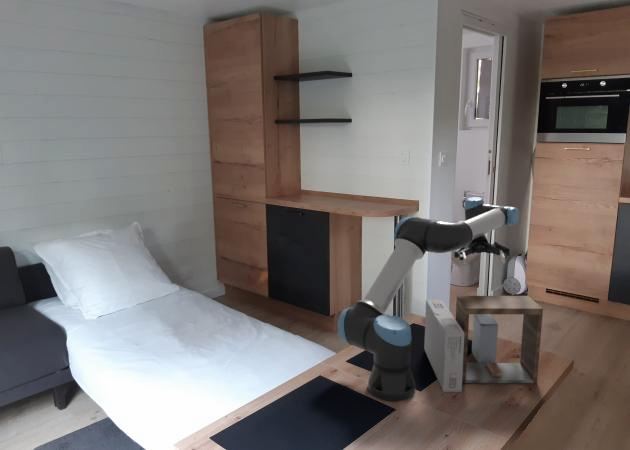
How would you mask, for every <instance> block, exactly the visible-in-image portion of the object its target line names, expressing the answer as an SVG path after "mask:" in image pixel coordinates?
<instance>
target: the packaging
mask: <svg viewBox="0 0 630 450" xmlns="http://www.w3.org/2000/svg"><path fill="white" fill-rule="evenodd" d="M424 315H425V322H424V323H425V325H424V348H423V349H424V352H425V354H426V357H427V358H428V361H429V363H430V366H431V368H432V370H433V372H434V374H435V377H436V378H437V381H438V384H439V385H440V388H441V390H442V392H446V393H447V392H450V393H451V392H462V391H463V389H462V387H463V383H462V372H463V352H464V331H463V330H462V328H461V327H460V325H459V324H458V322H457V321H456V317H454V315H453V314H452V312H451V311H450V309H449V308H448V306H447V305H446V303H445V302H444V301H443V300H442V299H426V300H425V314H424Z"/></svg>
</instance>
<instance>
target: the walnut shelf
mask: <svg viewBox="0 0 630 450" xmlns="http://www.w3.org/2000/svg"><path fill="white" fill-rule="evenodd" d="M455 306H456V308H455V320H456V321H457V322H458V324H459V325H460V327H461V328H462V330H463V331H464V352H463V372H462V384H464V383H466V384H468V383H470V384H471V383H476V384H477V383H478V384H479V383H481V384H482V383H483V384H489V383H490V384H495V383H496V384H538V374H539V373H538V372H539V362H540V361H539V360H540V348H541V338H542V337H541V336H542V327H543V326H542V323H543V312H544V311H543V310H544V308H543V307H542V306H541V305H539V303H537V302H536V301H535V300H534V299H533V298H531V296H530V295H456V305H455ZM470 315H523V319H522V331H521V347H520V358H519V362H517V363H516V362H496V363H478V362H468V361H467V360H468V347H469V346H468V344H469V328H470V327H469V324H470V323H469V322H470Z"/></svg>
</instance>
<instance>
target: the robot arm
mask: <svg viewBox="0 0 630 450" xmlns="http://www.w3.org/2000/svg"><path fill="white" fill-rule="evenodd" d="M464 219H465V220H456V221H442V220H436V219H430V218H429V219H428V218H422V217H418V216H406V217H403V218H402V219H400V220H399V221H398V222H397V225H396V226H395V228H394V233H393V239H394V247H395V248H394V249H393V251H392V253H391V254H390V256H389V258H388V259H387V261H386V263H385V264H384V266H383V267H382V269H381V271H380V272H379V274H378V275H377V276H376V279H375V280H374V282H373V283H372V285H371V286H370V288H369V290H368V292H367V293H366V295H365V296H364V298H363V299H361V300H357V301H356V302H355V304H354V306H353V307H347V308H345V309H343V310H342V312H341V313H340V315H339V317H338V320H337V333H338V336H339V337H340V339H341V340H342V341H344V342H346V343H348V344H349V346H353V347H357V348H359V349H361V350H363V351H365V352H368V353H371V354H372V355H373V366H372V370H371V372H370V374H369V377H368V381H367V388H368V391H369V392H370V394H371V395H372V396H374V397H376V398H378V399H379V400H384V401H388V402H389V401H390V402H399V401H404V400H405V401H406V400H407V399H410V398H412V397H413V396H414V395H415V393H416V382H415V378H414V375H413V372H412V370H411V369H412V368H411V356H412V355H411V354H412V353H411V352H412V341H413V340H412V339H413V338H412V329H411V326H410V324H409V322H408V321H407V320H405V318H402V317H400V316H397V315H390V314H386V312H387V309H388V308H389V306H390V305H391V303H392V301H393V299H394V298H395V296H396V295H397V293H398V291H399V289H400V288H401V286H402V284H403V283H404V281H405V279H406V278H407V276H408V274H409V272H410V271H411V269H412V268H413V266H414V264H415V263H416V261H417V260H418V261H419V260H421V259H422V258H423V257H424V255H425V254H426V252H428V253H429V252H430V253H435V254H443V253H444V254H445V253H450V252H454V258H455V259H458V258H459V259H458V260H459V261H463V265H464V266H467V256H469V255H474V254H482V253H485V254H493V255H496V256H499V257H500V261H501V263H502V264H503V265H505V264H506V259H507V258H508V257H509V256H510V254H511V249H510V248H508V247H506V246H503V245H502V244H499V243H498V242H497V241H494V242H493V243H489V241H488V239H487V236H486V234H488V233H490V232H492V231H494V230H496V229H498V228H501V227H503V226H508V227H510V226H511V227H514V226H516V225H517V224H518V222H519V219H520V211H519V209H518V208H517V207H514V206H511V205H510V206H509V205H507V206H506V205H498V204H488V203H485V201H484V198H483V197H478V196H475V197H473V196H472V197H468V198H466V199H465V200H464Z"/></svg>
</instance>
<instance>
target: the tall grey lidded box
mask: <svg viewBox="0 0 630 450" xmlns="http://www.w3.org/2000/svg"><path fill="white" fill-rule="evenodd" d="M498 330H499V323H498V322H497V321H496V320H495V318H494V317H493V316H492V314H473V321H472V338H471V339H472V341H471V342H472V343H471V354H472V355H473V357H474V358H475V360H476V363H497V361H496V360H497V345H498V344H497V343H498Z"/></svg>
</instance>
